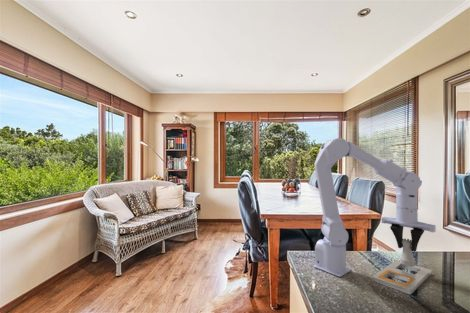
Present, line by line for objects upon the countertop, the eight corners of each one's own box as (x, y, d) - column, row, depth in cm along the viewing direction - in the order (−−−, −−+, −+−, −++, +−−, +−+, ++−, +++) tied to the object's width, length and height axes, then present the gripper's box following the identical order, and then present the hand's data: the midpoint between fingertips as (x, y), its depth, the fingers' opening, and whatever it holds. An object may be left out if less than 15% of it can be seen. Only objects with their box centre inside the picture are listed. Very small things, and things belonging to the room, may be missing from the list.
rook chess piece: (418, 267, 76) (417, 242, 77) (402, 266, 78) (401, 241, 78) (413, 262, 81) (412, 238, 81) (397, 260, 82) (396, 237, 82)
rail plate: (371, 280, 74) (371, 275, 74) (396, 263, 86) (395, 259, 86) (410, 294, 66) (410, 289, 66) (431, 273, 78) (431, 269, 78)
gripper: (437, 209, 76) (438, 252, 76) (387, 203, 88) (387, 240, 88) (431, 212, 72) (432, 258, 72) (378, 205, 83) (379, 245, 83)
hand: (407, 249), depth 79 cm, fingers closed on rook chess piece, 3 cm apart
